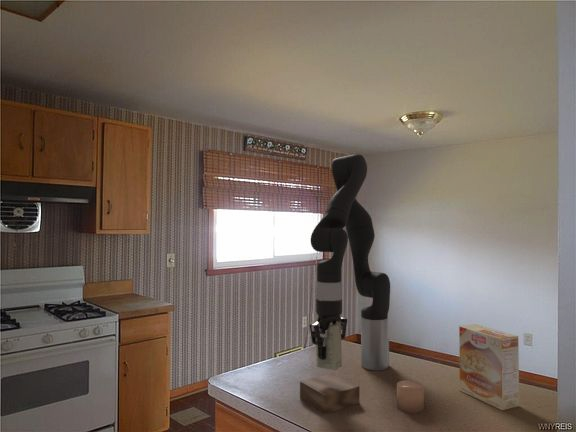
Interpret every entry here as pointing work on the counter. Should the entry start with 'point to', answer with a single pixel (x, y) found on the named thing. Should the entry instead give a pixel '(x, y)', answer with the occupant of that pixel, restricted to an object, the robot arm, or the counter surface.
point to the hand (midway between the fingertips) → (328, 356)
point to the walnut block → (329, 392)
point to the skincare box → (331, 349)
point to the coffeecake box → (489, 365)
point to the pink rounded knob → (410, 396)
